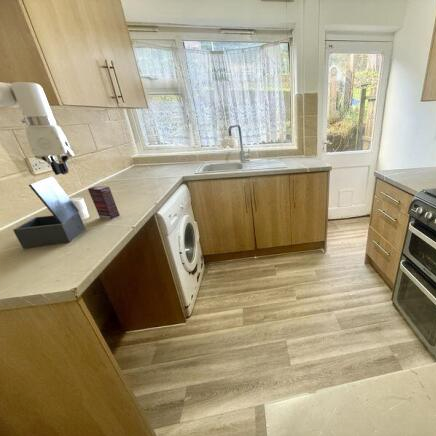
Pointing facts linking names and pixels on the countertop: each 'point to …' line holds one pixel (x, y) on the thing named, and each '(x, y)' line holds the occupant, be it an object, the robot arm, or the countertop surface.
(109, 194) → the supplement box
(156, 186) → the countertop surface
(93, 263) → the countertop surface
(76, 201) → the white cup
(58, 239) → the box
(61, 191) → the lid
